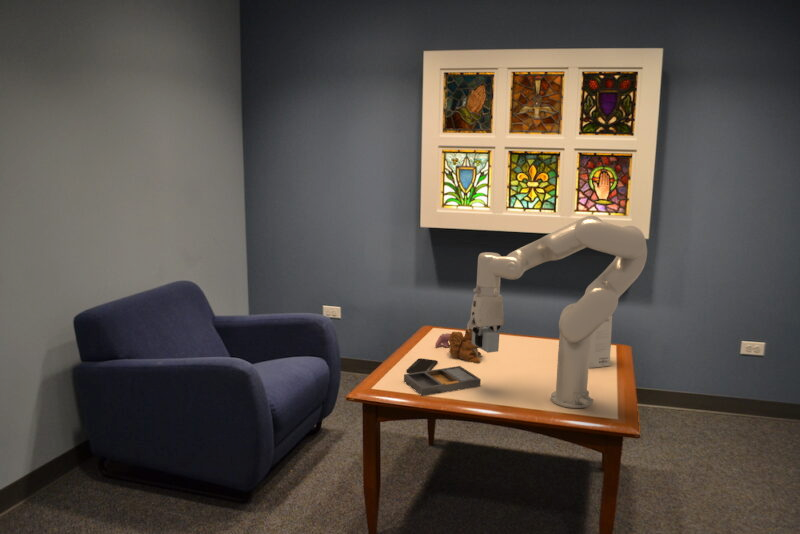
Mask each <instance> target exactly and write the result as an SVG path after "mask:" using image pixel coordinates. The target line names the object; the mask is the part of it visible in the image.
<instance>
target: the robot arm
mask: <svg viewBox="0 0 800 534" xmlns="http://www.w3.org/2000/svg"><path fill="white" fill-rule="evenodd" d="M586 248H587V249H588V248H589V249H592V250H595V251H598V252H602V253H605V254H609V255H612V256H615V258H614V259H613V261H612V262H611V263H610V264H609V265H608V266H606V269H604V270H603V272H602V273H601V274H599V275H598V277H597V278H595V279H594V280H593V281H592V282H591V283H590V284H589V285H587V287H586V289H585V291H584V294H583V296H582V297H580V299H579V300H578V301H577V302H575V303H570V304H568V305H567V306H565V307H564V308H562V309H563V310H561V314H560V316H559V322H558V329H559V338H558V352H557V365H556V366H557V367H556V368H557V369H556V382H555V391H553V392H551V393H550V400H551V402H552V403H554V404H556V406H557V405H558V406H561V407H564V408H569V409H583V408H587V407H590V406H591V405H592V404H593V402H594V398H592V397H591V396H590V391H588V384H589V382H588V381H589V370H590V368H589V356H590V343H591V334H592V333H594V332H595V331H596V330H597V329H598V328H599V327H600V326H601V325H602V324H603V323H604V322H605V321H606V320H607V319H608V318H609V317H610V316H611V315H613V313H614V312H615V311H616V309H617V308H618V304H619V299H620V297H621V296H622V295H623V294H624V293H625V292H626V291H627V290H628V289H629V288H630V287H631V285H632V284H633V283H634V282H635V281H636V280H637V279H638V277H639V276H640V275H641V273H642V272H643V269H644V268H645V266H646V263H647V257H648V247H647V240H646V238H645V235H644V233H643V232H642V230H641V229H640V228H638V227H637V226H634V225H625V226H620V225H617V224H616V225H615V224H612V223H609V222H606V221H603V220H602V219H601V218H599V217H598V216H596V215H588V216H587V215H586V216H585V217H582V218H580V219H577V220H576V221H573V222H572V223H569V224H567V225H566V226H563V227H561V228H559V229H556V230H554V231H553V232H550V233H548V234H546V235H544V236H543V237H541V238H539V239H537V240H534V241H533V242H531V243H530V242H529V243H528V244H525V245H524V246H522V247H519V248H517V249H516V250H514V251H511V252H509V253H508V254H507V255H506V256H505V255H503V256H501V254H499V253H498V252H487V251H486V252H481V253H479V255H478V257H477V270H476V272H477V273H476V286H475V288H473V290H472V292H473V293H475V294H473V295H474V296H473V299H472V303H471V309H470V318H469V320H468V322H467V324H466V328H467V327H468V328H470V329H471V330H472V331H473V332H474V333H475V345H477V346H478V347H482V338H483V336H482V335H481V333H482V329H483V327H487V328H489V329H491V330H493V331H495V332H497V333H498V331H499V329H501V327H502V326H504V325H505V323H506V322H505V320H504V302H503V296H502V294H500V293H501V279H506V280H513V281H514V280H518V279H519V278H521V277H522V276H523V275H524V273H525V272H526V271H528V270H529V269H532V268H534V267H537V266H538V265H541V264H543V263H546V262H550V261H558V260H559V261H560V260H563V259H564V258H566V257H569V256H571V255H572V254H574V253H577V252H579V251H581V250H584V249H586ZM473 325H475V327H474V326H473Z"/></svg>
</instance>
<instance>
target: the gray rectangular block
mask: <svg viewBox="0 0 800 534" xmlns="http://www.w3.org/2000/svg"><path fill="white" fill-rule="evenodd" d="M474 327H475V326H474ZM481 335H482V336H483V338H482V347H479V348H478V349H480V350H482V351H484V352H486V353H495V352H496V353H497V352H499V346H500V345H499V344H500V332H498V331H497V332H495V331H493V330H491V329H489V327H483V329H482V333H481ZM472 344H473V345H475V333H474V332H473V331H472ZM475 346H477V345H475ZM477 347H478V346H477Z"/></svg>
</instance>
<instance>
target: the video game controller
mask: <svg viewBox="0 0 800 534" xmlns="http://www.w3.org/2000/svg"><path fill="white" fill-rule="evenodd" d="M450 334H451V333H448V332H447V333H441V334H440V335H439V337H438V339H437V340H436V342H435V348H436V349H438V348H440V346H441V345H442V346H443V347H444V348H448V347H450V346H449V345H450V343H449V337H450Z"/></svg>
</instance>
